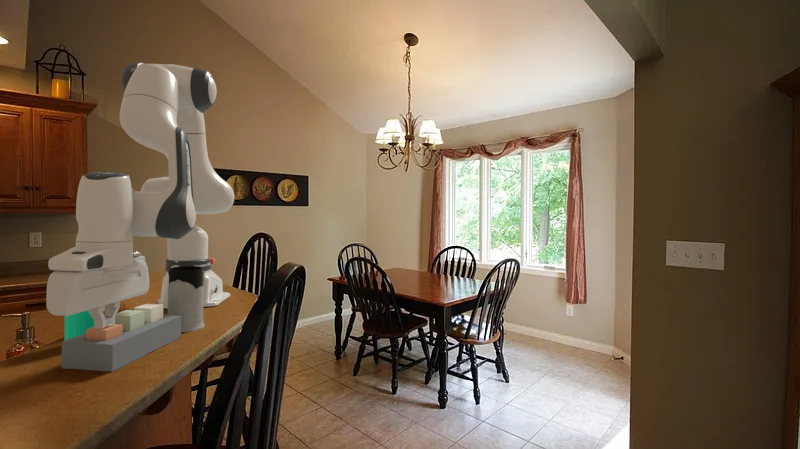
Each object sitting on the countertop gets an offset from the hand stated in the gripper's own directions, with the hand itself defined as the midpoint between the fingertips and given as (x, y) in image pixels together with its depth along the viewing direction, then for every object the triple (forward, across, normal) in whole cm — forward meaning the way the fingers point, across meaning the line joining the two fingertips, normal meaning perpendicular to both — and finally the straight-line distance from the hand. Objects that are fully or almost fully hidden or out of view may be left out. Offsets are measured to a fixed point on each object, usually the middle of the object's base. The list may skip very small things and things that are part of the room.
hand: (104, 327), depth 77 cm
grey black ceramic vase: (+7, -26, +1) cm, 27 cm away
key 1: (+6, 0, 0) cm, 6 cm away
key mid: (+5, -6, 0) cm, 8 cm away
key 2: (+5, -12, 0) cm, 13 cm away
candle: (+7, -8, -12) cm, 16 cm away
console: (+7, -6, 0) cm, 9 cm away
